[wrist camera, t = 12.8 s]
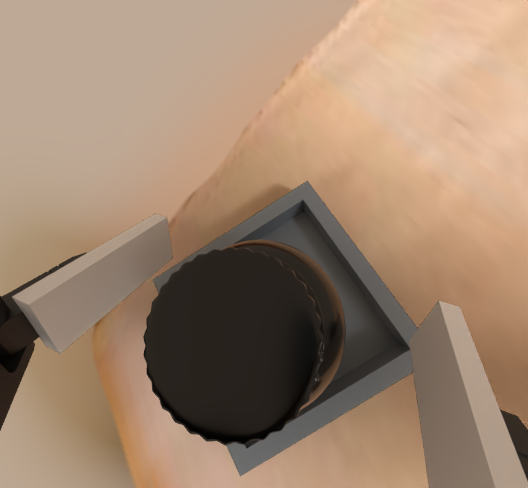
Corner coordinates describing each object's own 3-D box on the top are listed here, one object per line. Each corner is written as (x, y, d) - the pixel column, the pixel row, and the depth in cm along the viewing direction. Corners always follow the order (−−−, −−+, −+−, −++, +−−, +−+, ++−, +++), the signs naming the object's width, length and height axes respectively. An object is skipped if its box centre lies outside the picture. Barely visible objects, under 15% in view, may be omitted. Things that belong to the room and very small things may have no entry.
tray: (307, 196, 20) (307, 180, 17) (417, 347, 16) (439, 356, 14) (173, 282, 20) (152, 279, 18) (251, 447, 17) (240, 476, 14)
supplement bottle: (216, 321, 18) (58, 357, 7) (269, 246, 19) (206, 164, 7) (292, 385, 16) (252, 584, 5) (349, 301, 17) (431, 305, 5)
